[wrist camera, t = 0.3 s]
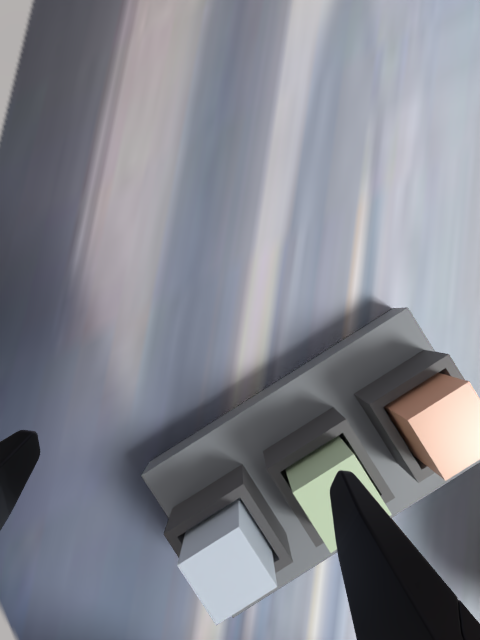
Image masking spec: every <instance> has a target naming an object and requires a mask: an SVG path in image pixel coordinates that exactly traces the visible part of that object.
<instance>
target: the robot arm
mask: <svg viewBox="0 0 480 640" xmlns="http://www.w3.org/2000/svg"><path fill="white" fill-rule="evenodd" d="M39 456H40V446H39V440H38V435H37V433H36V432H35V431H28V430H20V431H18V432H16V433H14V434H13V435H11V436H9V437H8V438H6V439H4V440H3V441H1V442H0V530H1V529H2V527H3V525H4V524H5V522H6V520H7V519H8V517H9V515H10V514H11V512H12V510H13V508H14V506H15V504H16V502H17V500H18V498H19V496H20V494H21V492H22V490H23V488H24V486H25V484H26V482H27V481H28V479H29V477H30V475H31V473H32V471H33V469H34V467H35V465H36V463H37V461H38V459H39ZM330 500H331V508H332V516H333V524H334V532H335V539H336V546H337V552H338V557H339V562H340V566H341V571H342V575H343V580H344V584H345V589H346V593H347V598H348V602H349V606H350V611H351V615H352V620H353V624H354V629H355V633H356V638H357V640H480V624H479V622H478V621H477V620H476V619H475V618H474V617H473V615H472V614H471V613H470V612H469V611H468V609H467V608H466V607H465V606H464V605H463V603H462V602H461V601H460V600H458V599H457V596H456V595H455V594H454V593H453V592H452V590H451V589H450V588H449V587H448V586H447V584H446V583H445V582H444V581H443V580H442V578H441V577H440V576H439V575H438V574H437V572H436V571H435V570H434V569H433V568H432V566H431V565H430V564H429V563H428V562H427V560H426V559H425V558H424V557H423V556H422V554H421V553H420V552H419V551H418V550H417V548H416V547H415V546H414V545H413V544H412V542H411V541H410V540H409V539H408V538H407V536H406V535H405V534H404V533H403V532H402V530H401V529H400V528H399V527H398V526H397V524H396V523H395V522H394V521H393V520H392V518H391V517H390V516H389V515H388V514H387V512H386V511H385V510H384V509H383V508H382V507H381V505H380V504H379V503H378V502H377V501H376V499H375V498H374V497H373V496H372V495H371V493H370V492H369V491H368V490H367V489H366V487H365V486H364V485H363V484H362V483H361V481H360V480H359V479H358V478H357V477H356V475H355V474H354V473H352V472H350V471H344V470H339V471H338V472H337V474H336V476H335V478H334V480H333V482H332V484H331V487H330Z"/></svg>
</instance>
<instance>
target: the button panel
mask: <svg viewBox="0 0 480 640" xmlns="http://www.w3.org/2000/svg"><path fill="white" fill-rule="evenodd" d="M437 373H441V374H445V375H448V376H452V377H455V378H459V379H462V380H465V379H464V378H463V376H462V375H461V373H460V371H459V370H458V368H457V367H456V365H455V363H454V362H453V360H452V358H451V357H450V355H449V354H445V353H439V352H435V351H434V349H433V347H432V346H431V344H430V343H429V341H428V339H427V338H426V336H425V334H424V333H423V331H422V330H421V328H420V326H419V325H418V323H417V321H416V320H415V318H414V317H413V315H412V313H411V312H410V310H409V308H393V309H391V310H389V311H388V312H386V313H385V314H383V315H382V316H380V317H378V318H377V319H375V320H374V321H372V322H370V323H369V324H367V325H366V326H364V327H363V328H361V329H359V330H358V331H356V332H355V333H353V334H351V335H350V336H348V337H347V338H345V339H343V340H342V341H340V342H339V343H337V344H336V345H334V346H332V347H331V348H329V349H328V350H326V351H324V352H323V353H321V354H320V355H318V356H316V357H315V358H313V359H312V360H310V361H309V362H307V363H305V364H304V365H302V366H301V367H299V368H297V369H296V370H294V371H293V372H291V373H290V374H288V375H286V376H285V377H283V378H282V379H280V380H278V381H277V382H275V383H274V384H272V385H270V386H269V387H267V388H266V389H264V390H263V391H261V392H259V393H258V394H256V395H255V396H253V397H251V398H250V399H248V400H247V401H245V402H243V403H242V404H240V405H239V406H237V407H236V408H234V409H232V410H231V411H229V412H228V413H226V414H224V415H223V416H221V417H220V418H218V419H217V420H215V421H213V422H212V423H210V424H209V425H207V426H205V427H204V428H202V429H201V430H199V431H197V432H196V433H194V434H193V435H191V436H190V437H188V438H186V439H185V440H183V441H182V442H180V443H178V444H177V445H175V446H174V447H172V448H170V449H169V450H167V451H166V452H164V453H163V454H161V455H159V456H158V457H156V458H155V459H153V460H151V461H150V462H149V463H148V465H147V467H146V468H145V470H144V472H143V473H142V475H141V476H142V478H143V479H144V481H145V482H146V484H147V486H148V487H149V489H150V490H151V492H152V493H153V495H154V496H155V498H156V500H157V501H158V503H159V504H160V506H161V507H162V509H163V510H164V512H165V513H166V515H167V517H168V518H169V519H168V522H167V525H166V528H165V531H164V536H165V537H166V539H167V540H168V542H169V543H170V545H171V546H172V548H173V550H174V551H175V553H176V554H177V556H178V557H179V556H180V552H181V548H182V544H183V540H184V535H185V532H186V531H187V530H189V529H191V528H192V527H194V526H195V525H197V524H199V523H200V522H202V521H203V520H205V519H207V518H208V517H210V516H211V515H213V514H214V513H216V512H218V511H219V510H221V509H222V508H224V507H226V506H227V505H229V504H230V503H232V502H233V501H235V500H237V499H238V498H241V499H242V501H243V503H244V504H245V506H246V507H247V509H248V510H249V512H250V514H251V515H252V517H253V518H254V520H255V521H256V523H257V525H258V526H259V528H260V529H261V531H262V532H263V534H264V535H265V537H266V539H267V540H268V542H269V543H270V545H271V548H272V554H273V561H274V568H275V575H276V581H277V587H276V588H275V589H273V590H272V591H270V592H269V593H267V594H265V595H264V596H262V597H261V598H259V599H257V600H256V601H254V602H253V603H251V604H249V605H248V606H246V607H245V608H243V609H242V610H240V611H238V612H237V613H235V614H234V615H232V617H233V618H234V617H235V616H237V615H238V614H240V613H242V612H243V611H245V610H246V609H248V608H250V607H251V606H253V605H254V604H256V603H257V602H259V601H261V600H262V599H264V598H265V597H267V596H269V595H270V594H272V593H273V592H275V591H277V590H278V589H280V588H281V587H283V586H284V585H286V584H288V583H289V582H291V581H292V580H294V579H296V578H297V577H299V576H300V575H302V574H303V573H305V572H307V571H308V570H310V569H311V568H313V567H315V566H316V565H318V564H319V563H321V562H323V561H324V560H326V559H327V558H329V557H330V556H332V555H334V554H335V553H337V550H335V551H334V552H332V553H330V551H329V549H328V548H327V546H326V545H325V543H324V542H323V540H322V538H321V537H320V535H319V534H318V532H317V531H316V529H315V527H314V526H313V524H312V523H311V521H310V520H309V518H308V516H307V515H306V513H305V512H304V510H303V508H302V507H301V505H300V504H299V502H298V501H297V499H296V497H295V496H294V494H293V493H292V489H291V486H290V483H289V480H288V477H287V473H286V470H285V469H286V468H287V467H289V466H291V465H292V464H294V463H295V462H297V461H299V460H300V459H302V458H303V457H305V456H306V455H308V454H310V453H311V452H313V451H314V450H316V449H318V448H319V447H321V446H322V445H324V444H326V443H327V442H329V441H330V440H332V439H333V438H335V437H337V436H339V437H340V438H341V439H342V440H343V442H344V443H345V444H346V445H347V446H348V448H349V449H350V450H351V451H352V452H353V454H354V455H355V456H356V458H357V460H358V461H359V463H360V464H361V466H362V468H363V469H364V471H365V472H366V474H367V476H368V477H369V479H370V480H371V482H372V484H373V485H374V487H375V488H376V490H377V492H378V493H379V495H380V496H381V498H382V499H383V501H384V503H385V504H386V506H387V507H388V509H389V511H390V512H391V514H392V515H391V516H390V517H391V518H392V517H394V516H396V515H397V514H399V513H400V512H402V511H403V510H405V509H407V508H408V507H410V506H411V505H413V504H415V503H416V502H418V501H419V500H421V499H422V498H424V497H426V496H427V495H429V494H430V493H432V492H434V491H435V490H437V489H438V488H440V487H442V486H443V485H445V484H446V483H448V482H449V481H451V480H453V479H454V478H456V477H457V476H459V475H461V474H462V473H464V472H465V471H467V470H469V469H470V468H472V467H473V466H475V465H476V464H478V463H480V460H478V461H476V462H475V463H473V464H472V465H470V466H468V467H467V468H465V469H464V470H462V471H461V472H459V473H457V474H456V475H454V476H453V477H451V478H449V479H448V480H446V481H445V480H444V479H442V478H441V477H440V476H439V475H437V474H436V473H435V472H434V471H432V470H431V469H430V468H429V467H427V466H426V465H425V464H424V463H422V462H421V461H420V460H419V459H417V458H416V457H415V456H414V455H413V454H412V452H411V450H410V449H409V447H408V446H407V444H406V442H405V441H404V439H403V438H402V436H401V434H400V433H399V431H398V430H397V428H396V426H395V425H394V423H393V422H392V420H391V418H390V417H389V415H388V414H387V412H386V410H385V409H384V406H386V405H387V404H389V403H391V402H392V401H394V400H395V399H397V398H399V397H400V396H402V395H403V394H405V393H406V392H408V391H410V390H411V389H413V388H414V387H416V386H418V385H419V384H421V383H422V382H424V381H426V380H427V379H429V378H430V377H432V376H433V375H435V374H437Z"/></svg>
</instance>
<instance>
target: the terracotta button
mask: <svg viewBox="0 0 480 640" xmlns="http://www.w3.org/2000/svg"><path fill="white" fill-rule="evenodd" d="M384 409H385V410H386V412H387V414H388V415H389V417H390V418H391V420H392V422H393V423H394V425H395V426H396V428H397V430H398V431H399V433H400V434H401V436H402V438H403V439H404V441H405V442H406V444H407V446H408V447H409V449H410V450H411V452H412V454H413V455H414V456H415V457H416V458H417V459H419V460H420V461H421V462H422V463H424V464H425V465H426V466H427V467H429V468H430V469H431V470H432V471H434V472H435V473H436V474H437V475H439V476H440V477H441V478H442V479H444V480H445V481H446V480H448V479H449V478H451V477H453V476H454V475H456V474H457V473H459V472H461V471H462V470H464V469H465V468H467V467H468V466H470V465H472V464H473V463H475V462H476V461H478V460H480V398H479V397H478V395H477V393H476V392H475V390H474V389H473V387H472V385H471V384H470V382H469V381H466V380H462V379H459V378H455V377H452V376H448V375H445V374H441V373H437V374H435V375H433V376H432V377H430V378H429V379H427V380H426V381H424V382H422V383H421V384H419V385H418V386H416V387H414V388H413V389H411V390H410V391H408V392H406V393H405V394H403V395H402V396H400V397H399V398H397V399H395V400H394V401H392V402H391V403H389V404H387V405H386V406H384Z"/></svg>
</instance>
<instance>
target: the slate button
mask: <svg viewBox="0 0 480 640" xmlns="http://www.w3.org/2000/svg"><path fill="white" fill-rule="evenodd" d="M177 566H178V567H179V569H180V570H181V572H182V573H183V575H184V576H185V578H186V580H187V581H188V583H189V584H190V586H191V587H192V589H193V590H194V592H195V593H196V595H197V597H198V598H199V600H200V601H201V603H202V604H203V606H204V607H205V609H206V610H207V612H208V614H209V615H210V617H211V618H212V620H213V621H214V623H215V624H216V625H218V624H219V623H221V622H222V621H224V620H226V619H227V618H229V617H230V616H232V615H234V614H235V613H237V612H238V611H240V610H242V609H243V608H245V607H246V606H248V605H249V604H251V603H253V602H254V601H256V600H257V599H259V598H261V597H262V596H264V595H265V594H267V593H269V592H270V591H272V590H273V589H275V588H276V587H277V581H276V575H275V568H274V561H273V554H272V548H271V545H270V543H269V542H268V540H267V539H266V537H265V535H264V534H263V532H262V531H261V529H260V528H259V526H258V525H257V523H256V521H255V520H254V518H253V517H252V515H251V514H250V512H249V510H248V509H247V507H246V506H245V504H244V503H243V501H242V499H241V498H238V499H237V500H235V501H233V502H232V503H230V504H229V505H227V506H226V507H224V508H222V509H221V510H219V511H218V512H216V513H214V514H213V515H211V516H210V517H208V518H207V519H205V520H203V521H202V522H200V523H199V524H197V525H195V526H194V527H192V528H191V529H189V530H187V531H186V532H185V535H184V540H183V544H182V548H181V552H180V556H179V561H178V565H177Z"/></svg>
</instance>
